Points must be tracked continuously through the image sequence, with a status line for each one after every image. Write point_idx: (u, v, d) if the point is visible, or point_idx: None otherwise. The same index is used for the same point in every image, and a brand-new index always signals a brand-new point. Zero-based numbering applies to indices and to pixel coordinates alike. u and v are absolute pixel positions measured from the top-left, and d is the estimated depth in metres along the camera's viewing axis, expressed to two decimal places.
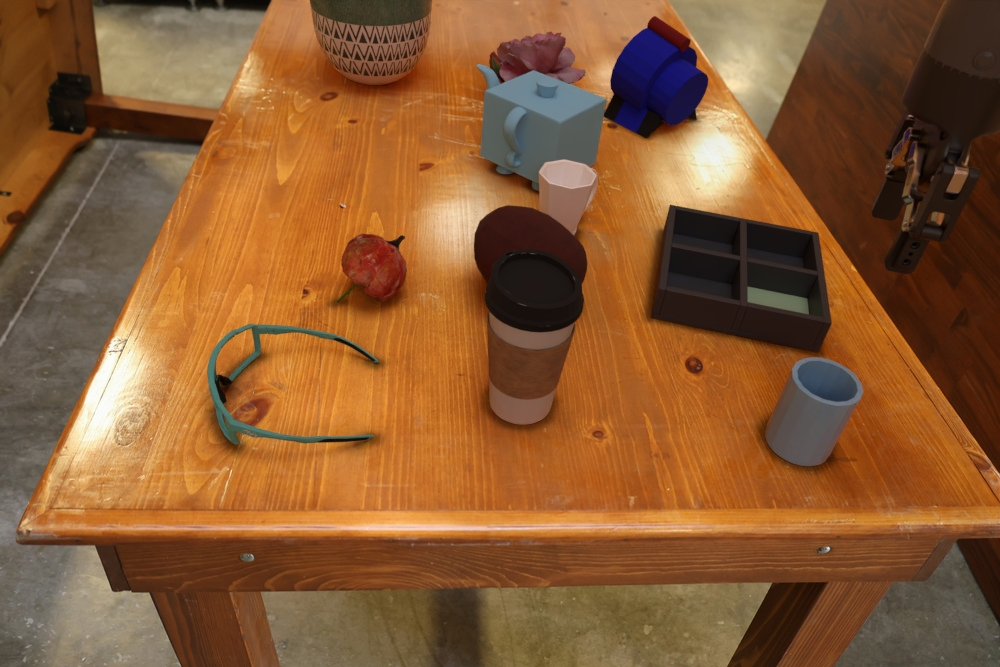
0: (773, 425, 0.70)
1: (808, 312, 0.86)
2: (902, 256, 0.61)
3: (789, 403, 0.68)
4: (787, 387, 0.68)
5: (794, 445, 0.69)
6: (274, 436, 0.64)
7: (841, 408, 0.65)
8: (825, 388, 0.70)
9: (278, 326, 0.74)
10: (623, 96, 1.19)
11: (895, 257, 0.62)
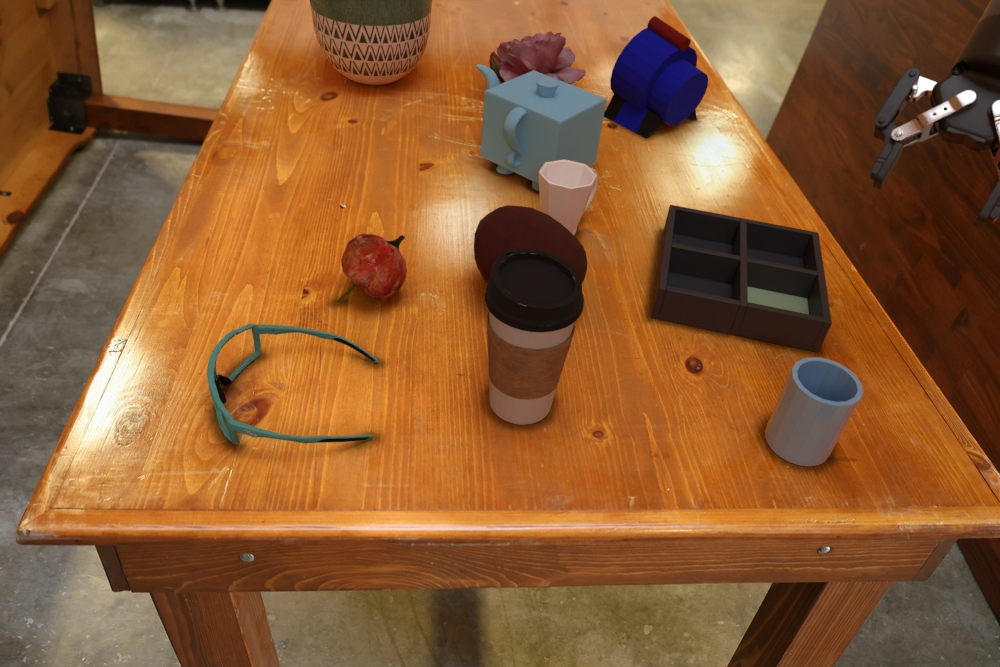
0: (773, 425, 0.70)
1: (808, 312, 0.86)
2: None
3: (789, 403, 0.68)
4: (787, 387, 0.68)
5: (794, 445, 0.69)
6: (274, 436, 0.64)
7: (841, 408, 0.65)
8: (825, 388, 0.70)
9: (278, 326, 0.74)
10: (623, 96, 1.19)
11: None
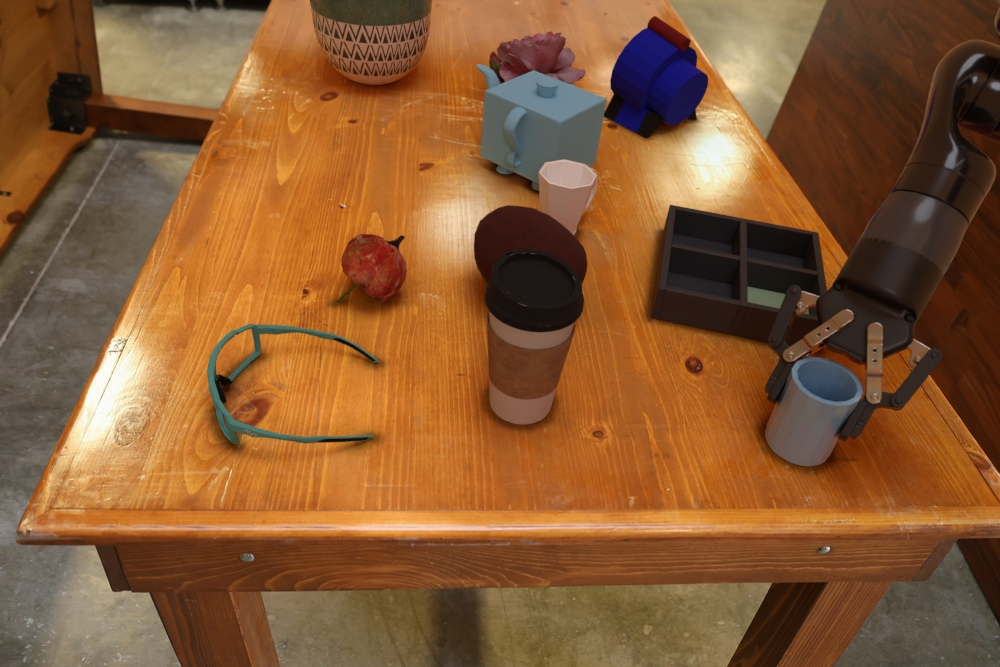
0: (773, 425, 0.70)
1: (808, 312, 0.86)
2: None
3: (789, 403, 0.68)
4: (787, 387, 0.68)
5: (794, 445, 0.69)
6: (274, 436, 0.64)
7: (841, 408, 0.65)
8: (825, 388, 0.70)
9: (278, 326, 0.74)
10: (623, 96, 1.19)
11: None
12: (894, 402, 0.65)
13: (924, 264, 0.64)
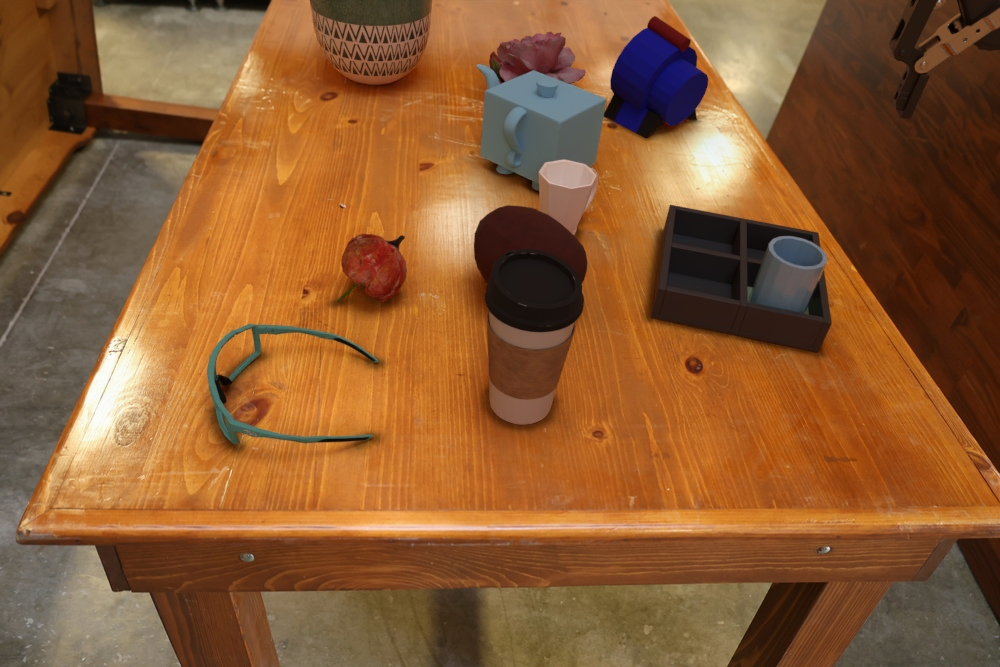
0: (754, 294, 0.84)
1: (808, 312, 0.86)
2: (898, 87, 0.61)
3: (766, 271, 0.81)
4: (765, 259, 0.82)
5: None
6: (274, 436, 0.64)
7: (808, 271, 0.79)
8: (797, 263, 0.84)
9: (278, 326, 0.74)
10: (623, 96, 1.19)
11: None
12: None
13: None
